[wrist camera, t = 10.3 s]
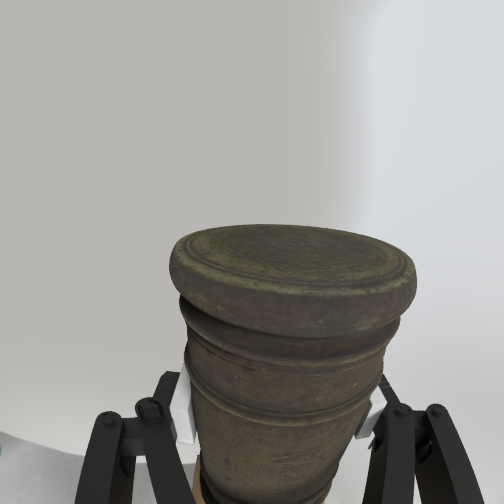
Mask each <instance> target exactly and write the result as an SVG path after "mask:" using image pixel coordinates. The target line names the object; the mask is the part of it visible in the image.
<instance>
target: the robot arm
mask: <svg viewBox="0 0 504 504" xmlns="http://www.w3.org/2000/svg"><path fill="white" fill-rule="evenodd" d="M135 411H136V414H137V417H135V418H121V416H120V415H119V414H118V413H116V412H112V411H107V412H103V413H101V414H100V415H98V417H97V419H96V421H95V424H94V427H93V430H92V434H91V438H90V441H89V444H88V448H87V451H86V455H85V459H84V463H83V467H82V471H81V475H80V479H79V484H78V489H77V493H76V498H75V504H132V493H133V482H134V472H135V463H136V456H143V455H145V457H146V461H147V466H148V470H149V474H150V479H151V482H152V486H153V490H154V494H155V497H156V501H157V504H196V501H195V499H194V496H193V494H192V491H191V489H190V486H189V483H188V481H187V478H186V475H185V472H184V469H183V466H182V463H181V460H180V457H179V454H178V451H177V448H176V445H175V444H176V439H177V438H178V442H180V443H188V444H194V442H195V436H196V431H197V426H196V419H195V414H194V408H193V401H192V394H191V386H190V378H189V375H188V373H187V370H186V367H185V363H184V364H183V367H182V370H181V373H179V372H170V371H166V372H165V374H163V375H162V376H161V378H160V380H159V383H158V385H157V388H156V390H155V393H154V395H153V397H147V398H143V399H141V400H139V401H138V402H137V403H136V405H135ZM372 431H373V432H374V434H375V437H374V439H373V440H372V442H371V444H370V445H369V447H368V449H370V448H371V447H372V450H371V457H370V465H369V471H368V476H367V482H366V487H365V493H364V497H363V502H362V504H413V496H414V479H415V475H416V480H417V484H418V489H419V493H420V498H421V503H422V504H484V501H483V497H482V494H481V491H480V488H479V485H478V482H477V479H476V477H475V474H474V471H473V469H472V466H471V463H470V461H469V458H468V456H467V453H466V451H465V449H464V446H463V444H462V442H461V439H460V437H459V435H458V432H457V430H456V428H455V426H454V424H453V421H452V419H451V417H450V415H449V413H448V411H447V409H446V408H445V407H444V406H442V405H440V404H431V405H430V406H428V408H427V409H426V411H415V410H412V408H411V407H409V406H408V405H406V404H403V403H400V401H399V399H398V397H397V396H396V394H395V392H394V391H393V389H392V387H390V384H389V382H387V379H386V377H385V376H384V374H382V377H381V380H380V382H379V384H378V386H377V388H376V389H375V390H374V392H373V393H372V395H371V397H370V399H369V402H368V404H367V406H366V409H365V411H364V414H363V416H362V418H361V420H360V422H359V424H358V426H357V428H356V431H355V433H354V436H355V438H356V439H360V438H366V437H369V436H370V434H371V433H372ZM0 455H1V443H0Z"/></svg>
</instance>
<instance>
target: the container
mask: <svg viewBox="0 0 504 504" xmlns="http://www.w3.org/2000/svg"><path fill="white" fill-rule="evenodd" d="M169 271H170V275H171V279H172V281H173V284H174V285H175V287H176V289H177V290H178V291H179V293H180V298H179V304H180V305H179V306H180V310H181V313H182V315H183V317H184V319H185V322H186V325H187V336H188V341H187V344H186V347H185V352H184V363H185V367H186V370H187V373H188V375H189V378H190V386H191V394H192V401H193V408H194V414H195V419H196V426H197V432H198V439H199V443H200V448H201V450H200V467H201V468H200V475H199V479H200V489H201V494H202V498H203V500H204V502H205V504H323V502H324V500H325V498H326V497H327V495H328V493H329V491H330V488H331V486H332V480H333V478H334V477H335V475H336V473H337V470H338V466H339V461H340V459H341V458H342V456H343V454H344V452H345V450H346V448H347V446H348V444H349V443H350V441H351V439H352V437H353V435H354V433H355V431H356V428H357V426H358V424H359V422H360V420H361V418H362V416H363V414H364V411H365V409H366V406H367V404H368V402H369V399H370V397H371V395H372V393H373V392H374V390H375V389H376V388H377V386H378V384H379V382H380V380H381V377H382V373H383V356H384V354H385V350H386V346H387V345H388V344H389V342H390V340H391V339H392V338H393V336H394V335H395V334H396V332H397V330H398V327H399V324H400V316H401V315H402V314H403V313H404V312H405V311H406V310H407V309H408V308H409V306H410V305H411V303H412V301H413V299H414V297H415V294H416V289H417V276H416V269H415V265H414V263H413V261H412V259H411V258H410V257H409V256H408V255H407V254H406V253H404V252H403V251H402V250H400V249H398V248H397V247H395V246H393V245H391V244H388V243H386V242H383V241H381V240H378V239H375V238H372V237H368V236H365V235H360V234H356V233H351V232H346V231H341V230H334V229H328V228H320V227H311V226H297V225H273V224H255V225H235V226H226V227H218V228H211V229H206V230H201V231H197V232H194V233H191V234H189V235H187V236H185V237H183V238H181V239H180V240H179V241H178V242H177V243H176V244H175V246H174V248H173V250H172V253H171V257H170V263H169Z"/></svg>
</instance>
